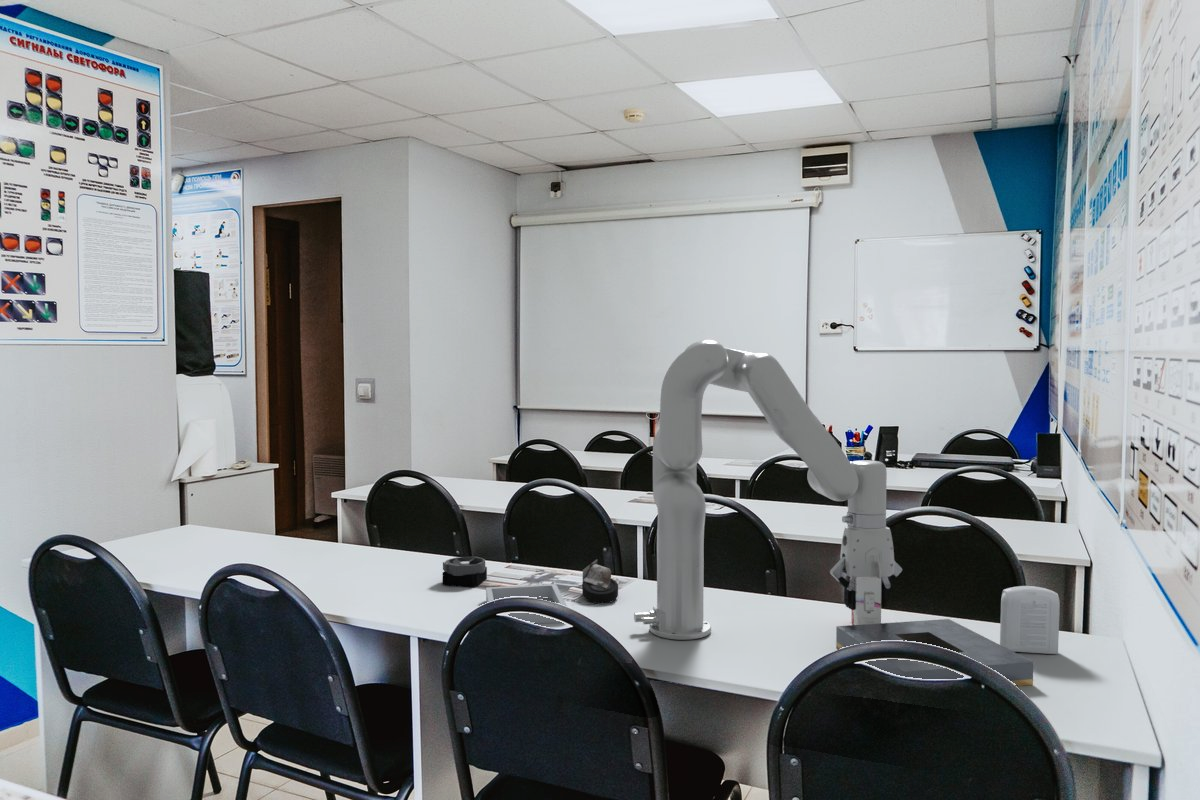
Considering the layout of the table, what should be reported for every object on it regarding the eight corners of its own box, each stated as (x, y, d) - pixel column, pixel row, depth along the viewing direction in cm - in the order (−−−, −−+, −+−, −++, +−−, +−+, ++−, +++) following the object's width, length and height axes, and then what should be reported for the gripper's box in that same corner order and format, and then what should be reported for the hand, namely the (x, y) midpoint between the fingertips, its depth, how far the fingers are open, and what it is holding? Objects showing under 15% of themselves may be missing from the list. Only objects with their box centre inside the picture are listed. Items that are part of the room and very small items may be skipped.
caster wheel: (606, 615, 188) (569, 603, 193) (630, 594, 197) (594, 582, 202) (606, 589, 186) (569, 577, 191) (631, 569, 195) (595, 558, 200)
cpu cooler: (490, 556, 211) (477, 565, 202) (490, 578, 212) (478, 588, 202) (452, 555, 213) (438, 564, 203) (452, 576, 214) (438, 587, 204)
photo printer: (1053, 648, 158) (1054, 584, 158) (1062, 656, 154) (1063, 590, 153) (996, 645, 160) (997, 582, 159) (1003, 653, 155) (1004, 588, 155)
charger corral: (490, 626, 172) (490, 612, 172) (486, 600, 191) (486, 587, 191) (568, 621, 175) (567, 607, 175) (556, 596, 194) (556, 584, 194)
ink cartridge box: (849, 621, 175) (850, 553, 174) (874, 622, 174) (875, 553, 173) (856, 634, 166) (857, 562, 166) (881, 636, 165) (882, 563, 165)
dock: (903, 695, 136) (904, 671, 135) (836, 646, 159) (836, 626, 159) (1032, 684, 140) (1033, 661, 140) (948, 638, 164) (948, 618, 163)
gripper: (836, 525, 164) (835, 615, 165) (915, 522, 167) (914, 610, 168) (819, 519, 171) (818, 604, 172) (895, 516, 174) (894, 599, 175)
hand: (865, 606), depth 170 cm, fingers closed on ink cartridge box, 6 cm apart
